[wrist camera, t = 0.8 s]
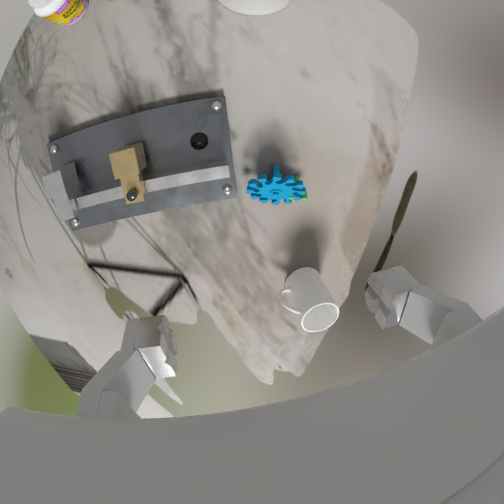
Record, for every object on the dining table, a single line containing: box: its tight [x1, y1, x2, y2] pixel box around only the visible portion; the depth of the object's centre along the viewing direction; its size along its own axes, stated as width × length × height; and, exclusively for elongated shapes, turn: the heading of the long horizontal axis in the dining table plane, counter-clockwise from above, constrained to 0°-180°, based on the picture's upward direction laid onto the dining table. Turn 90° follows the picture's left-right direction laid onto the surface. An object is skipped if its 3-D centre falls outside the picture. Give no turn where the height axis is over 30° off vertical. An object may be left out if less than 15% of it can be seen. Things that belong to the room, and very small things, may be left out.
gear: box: [247, 165, 307, 205], centre depth 47 cm, size 11×6×10 cm
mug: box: [279, 267, 339, 332], centre depth 57 cm, size 12×8×12 cm
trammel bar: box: [42, 160, 230, 221], centre depth 39 cm, size 8×31×7 cm, turn 95°
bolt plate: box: [47, 96, 237, 231], centre depth 42 cm, size 18×33×2 cm, turn 95°
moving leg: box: [109, 142, 147, 204], centre depth 39 cm, size 8×4×7 cm, turn 5°
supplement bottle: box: [29, 0, 88, 26], centre depth 19 cm, size 7×7×13 cm
